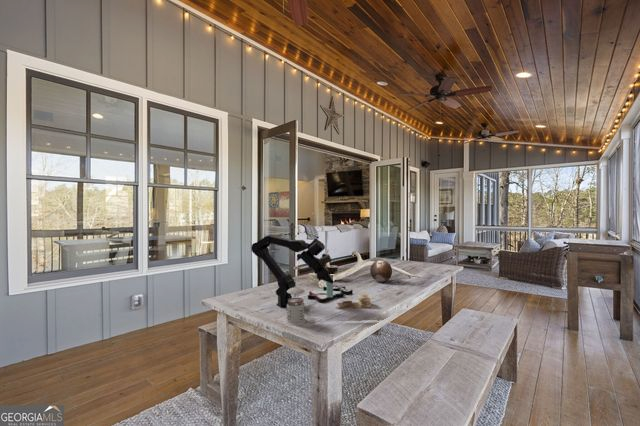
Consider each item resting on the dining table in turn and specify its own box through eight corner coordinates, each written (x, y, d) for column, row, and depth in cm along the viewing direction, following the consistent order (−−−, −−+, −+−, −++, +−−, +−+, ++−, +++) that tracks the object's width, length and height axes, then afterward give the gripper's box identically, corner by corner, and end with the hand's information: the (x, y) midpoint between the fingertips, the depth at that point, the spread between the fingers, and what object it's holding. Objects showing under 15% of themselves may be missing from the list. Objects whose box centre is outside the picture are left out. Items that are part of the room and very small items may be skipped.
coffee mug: (329, 282, 211) (329, 268, 210) (323, 279, 218) (323, 265, 218) (343, 280, 216) (343, 266, 216) (337, 278, 224) (337, 264, 224)
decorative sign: (356, 288, 183) (325, 300, 160) (356, 294, 183) (325, 307, 160) (331, 283, 194) (299, 294, 171) (331, 289, 194) (299, 300, 171)
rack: (339, 311, 152) (339, 300, 152) (337, 305, 162) (337, 294, 162) (371, 310, 153) (371, 299, 153) (366, 304, 163) (366, 293, 163)
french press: (284, 325, 134) (284, 268, 133) (285, 316, 145) (285, 263, 145) (306, 325, 134) (306, 268, 134) (306, 315, 146) (306, 263, 145)
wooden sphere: (370, 283, 207) (370, 261, 207) (369, 278, 222) (369, 258, 222) (393, 284, 205) (393, 262, 205) (391, 279, 220) (391, 258, 220)
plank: (327, 297, 155) (327, 275, 155) (326, 296, 158) (326, 274, 157) (333, 297, 155) (333, 275, 155) (332, 296, 158) (332, 274, 158)
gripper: (324, 252, 146) (346, 274, 147) (320, 246, 165) (340, 267, 166) (307, 268, 146) (330, 291, 147) (306, 261, 164) (326, 281, 166)
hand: (332, 281), depth 156 cm, fingers closed on plank, 2 cm apart
